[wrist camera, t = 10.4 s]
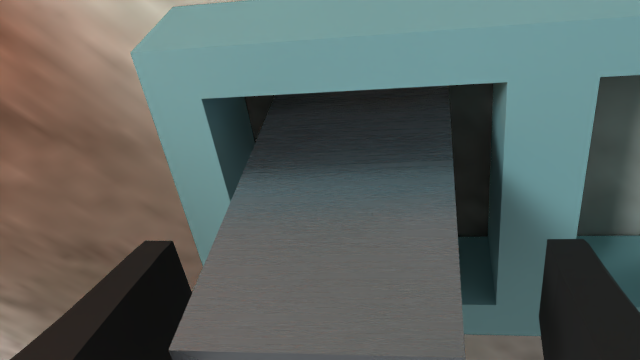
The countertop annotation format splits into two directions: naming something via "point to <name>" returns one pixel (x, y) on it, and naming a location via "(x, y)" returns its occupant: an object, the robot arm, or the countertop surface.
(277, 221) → the peg
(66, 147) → the countertop surface
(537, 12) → the holder
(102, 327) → the robot arm
